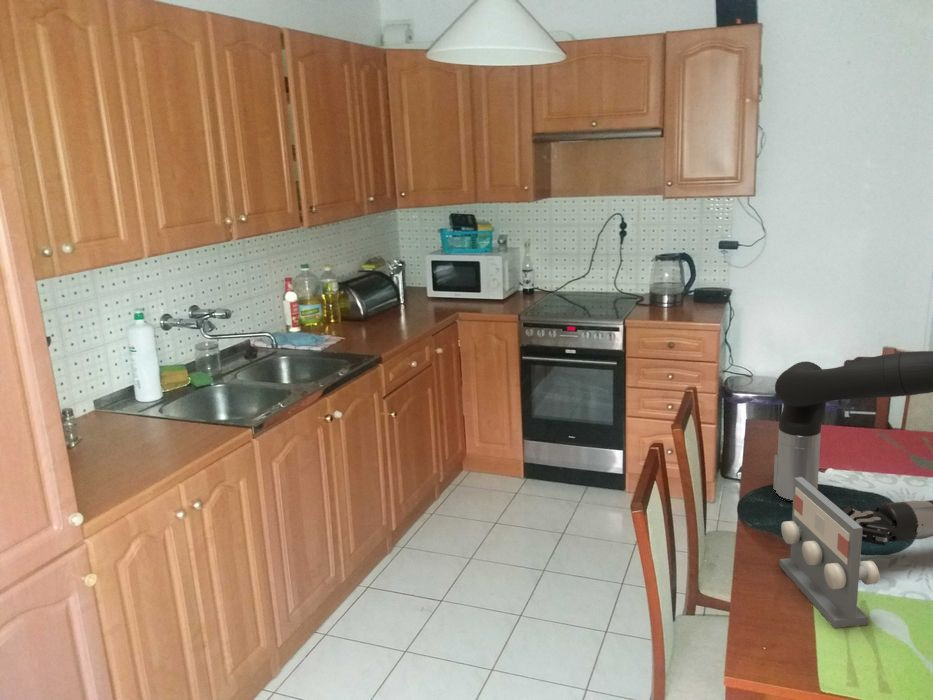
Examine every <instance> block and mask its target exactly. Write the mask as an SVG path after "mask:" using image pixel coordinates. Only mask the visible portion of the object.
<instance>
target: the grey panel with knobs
mask: <svg viewBox="0 0 933 700" xmlns="http://www.w3.org/2000/svg"><path fill="white" fill-rule="evenodd" d="M791 513H792V515H791V517H792V518H791V521H794V522H795V523H796V524H797V525H799V526H800V527H801V528H802V538H800V540H799V542H798V543H795V544H790V555H789V557H788V558H780V559H779V565H778V566H779V567H780V569H781V570H783V572H784V573H785V574H786V575H787V577H788V578H790V580H791V581H792V582H793V584H795V585H796V587H797V588H798V589H799V590H800V592H801V593H803V594H804V596H805V597H806V598H807V599H808V601H809V602H810V603H811V604H812V605H813V606H814V607H815V608H816V609H817V610H818V611H819V612H820V614H821V615H822V616H823V617H824V618H825V620H826V621H828V623H829V622H830V623H831V624H830V623H829V624H830V625H831V626H832V627H833V628H834V629H840V628H839V627H843V628H847V627H846V626H853V627H858V626H857V625H862V626H868V616H867V615H866V614H865V613H864V612H863V611H862V610H861V608H860V607H858V606H857V605H858V593H859V582H860V581H859V569H860V562H861V554H862V553H861V552H862V543H863V541H862V531H863V528H862V527H861V526H860V525H859V524H857V523H856V522H855V521H854V520H853V519H852V518H850V517H849V516H848V515H847V514H846V513H844V512H843V509H841V508H840V507H839V506H837V505H836V504H835V503H834V502H832V501H831V500H830V499H829V498H828V497H827V496H825V495H824V494H823V493H822V492H821V491H819V490H818V488H817V489H816V488H815V487H813V486H812V485H811V484H810V483H809V482H807V481H806V480H805V479H804V478H803V477H797V478H794V493H793V502H792V512H791ZM805 541H816V542H817V543H818V544H819V546H820V547H822V548H823V559H822V562H821V564H819V565H808V564H807V563H806V561H805V559H804V557H803V552H802V545H803V543H804V542H805ZM830 563H839V564H840V565H841V566H842V568H843V569H844V570H845V571H846V572H847V581H846V585H845V587H844V588H840V589H831V588H830V587H829V585H828V584H827V582H826V579H825V575H824V567H825V565H826V564H830Z"/></svg>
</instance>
